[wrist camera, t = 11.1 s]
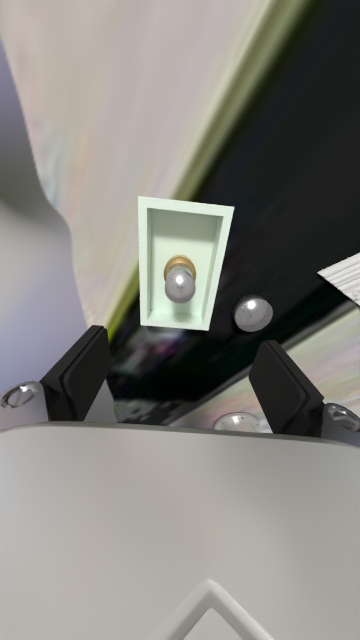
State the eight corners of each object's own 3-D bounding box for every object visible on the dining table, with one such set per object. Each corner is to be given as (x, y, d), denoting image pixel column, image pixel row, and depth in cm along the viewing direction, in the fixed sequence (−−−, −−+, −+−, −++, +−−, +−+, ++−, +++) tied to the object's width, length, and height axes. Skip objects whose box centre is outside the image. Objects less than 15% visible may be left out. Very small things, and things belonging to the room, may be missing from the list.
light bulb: (196, 256, 26) (204, 270, 18) (192, 285, 28) (197, 309, 20) (166, 252, 25) (159, 265, 17) (164, 283, 28) (158, 306, 20)
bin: (205, 318, 31) (208, 330, 28) (145, 313, 31) (140, 325, 27) (226, 209, 23) (234, 206, 20) (144, 200, 23) (137, 195, 19)
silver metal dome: (259, 325, 32) (265, 332, 30) (228, 322, 32) (231, 330, 30) (270, 295, 29) (278, 301, 27) (236, 292, 29) (241, 298, 27)
